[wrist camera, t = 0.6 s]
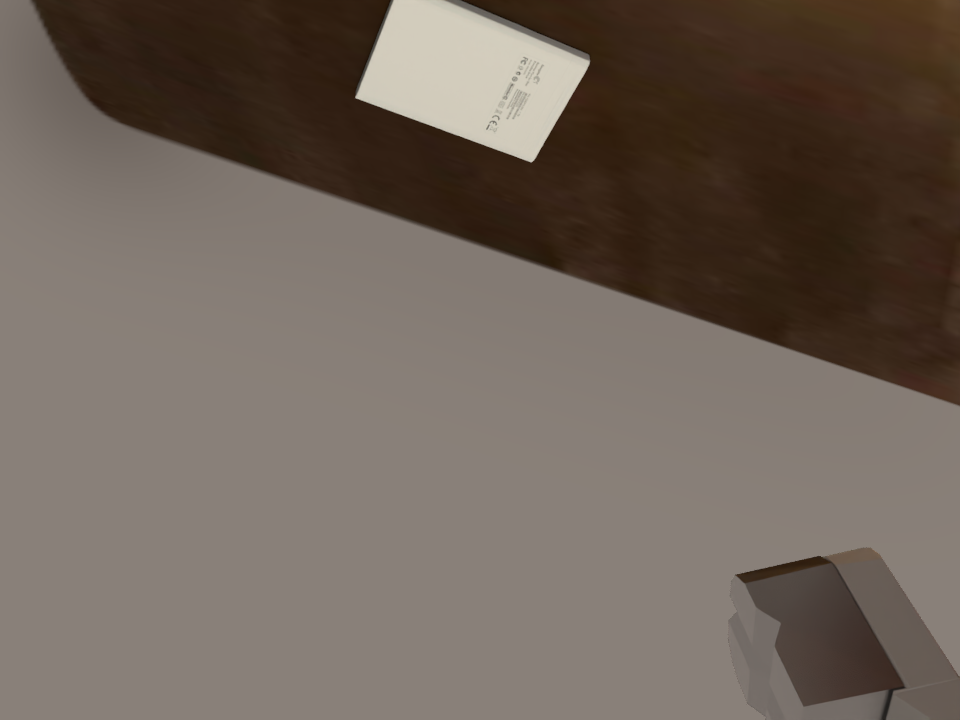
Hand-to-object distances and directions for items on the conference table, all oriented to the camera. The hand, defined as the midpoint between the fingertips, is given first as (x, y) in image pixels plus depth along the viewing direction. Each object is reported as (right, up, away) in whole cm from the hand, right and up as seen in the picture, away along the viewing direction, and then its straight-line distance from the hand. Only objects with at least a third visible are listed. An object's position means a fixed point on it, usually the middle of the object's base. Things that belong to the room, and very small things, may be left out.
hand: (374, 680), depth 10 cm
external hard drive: (+1, +22, +48) cm, 53 cm away
